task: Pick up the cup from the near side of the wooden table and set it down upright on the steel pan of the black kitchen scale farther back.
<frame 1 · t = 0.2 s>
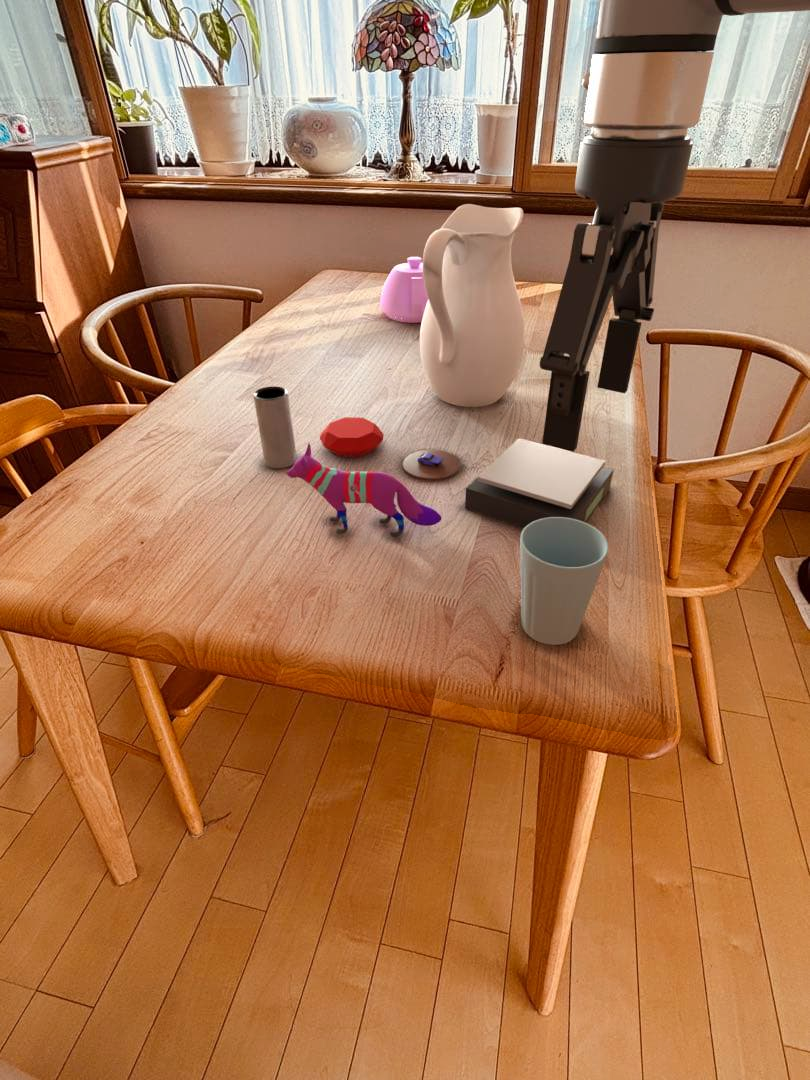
hand: (587, 415, 56), 19 cm above the table, tool pointing down, fingers open, 13 cm apart
round wooden coaster: (431, 467, 87), on the table
fox figurine: (366, 529, 75), on the table
cup: (549, 626, 62), on the table
pitcher: (459, 402, 104), on the table
gemstone: (352, 447, 92), on the table
teapot: (414, 314, 143), on the table
scale: (538, 498, 80), on the table
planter: (281, 462, 89), on the table
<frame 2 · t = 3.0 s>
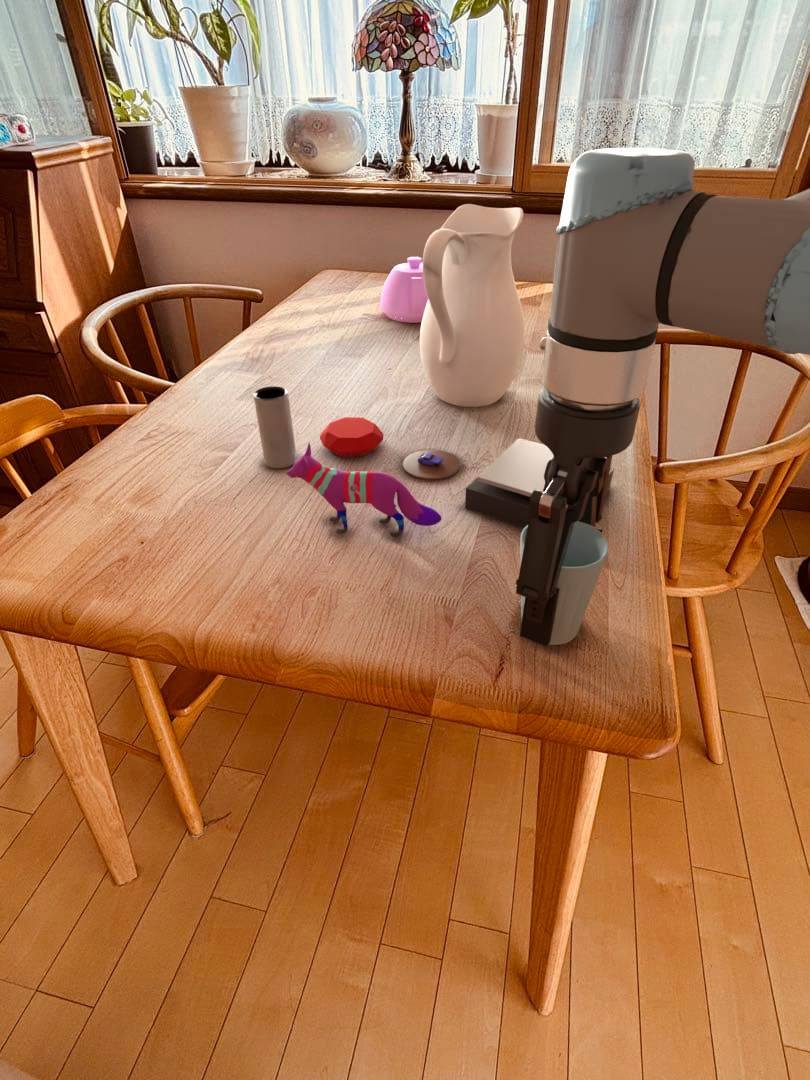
hand: (551, 613, 60), 2 cm above the table, tool pointing down, fingers closed on cup, 7 cm apart
cup: (549, 626, 62), on the table, touching gripper
everything else where it was.
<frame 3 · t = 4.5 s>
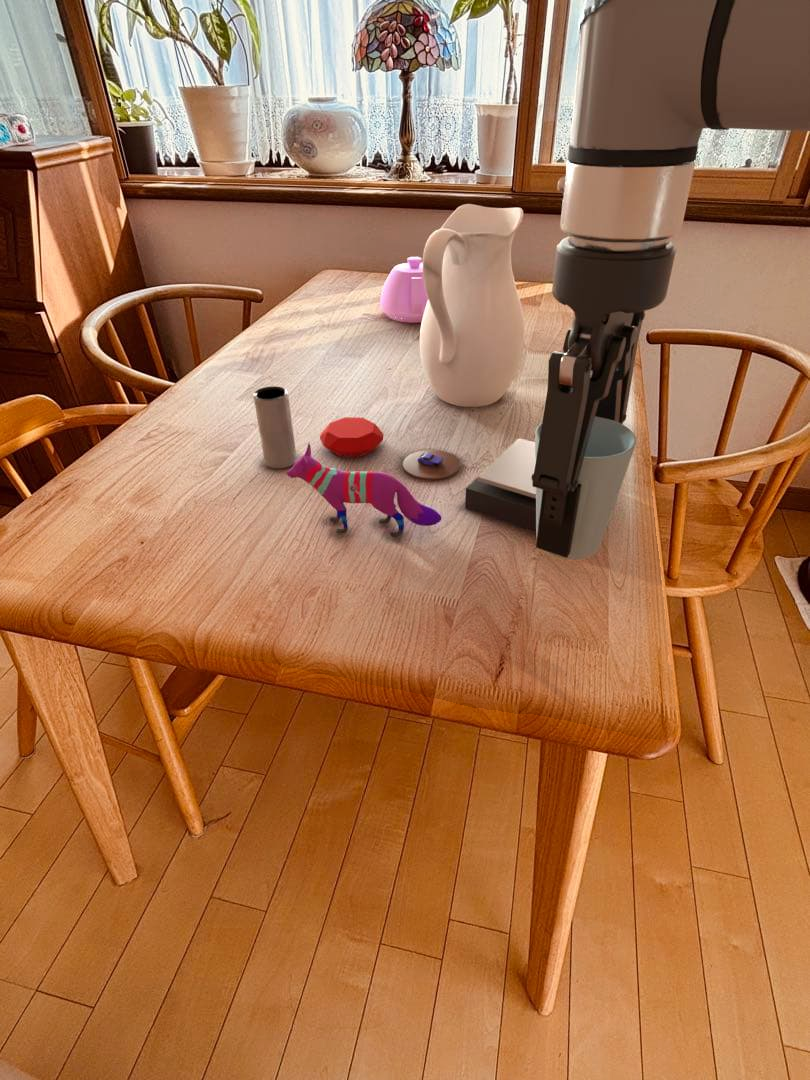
hand: (570, 526, 54), 12 cm above the table, tool pointing down, fingers closed on cup, 7 cm apart
cup: (567, 543, 55), point 10 cm above the table, touching gripper
everything else where it was.
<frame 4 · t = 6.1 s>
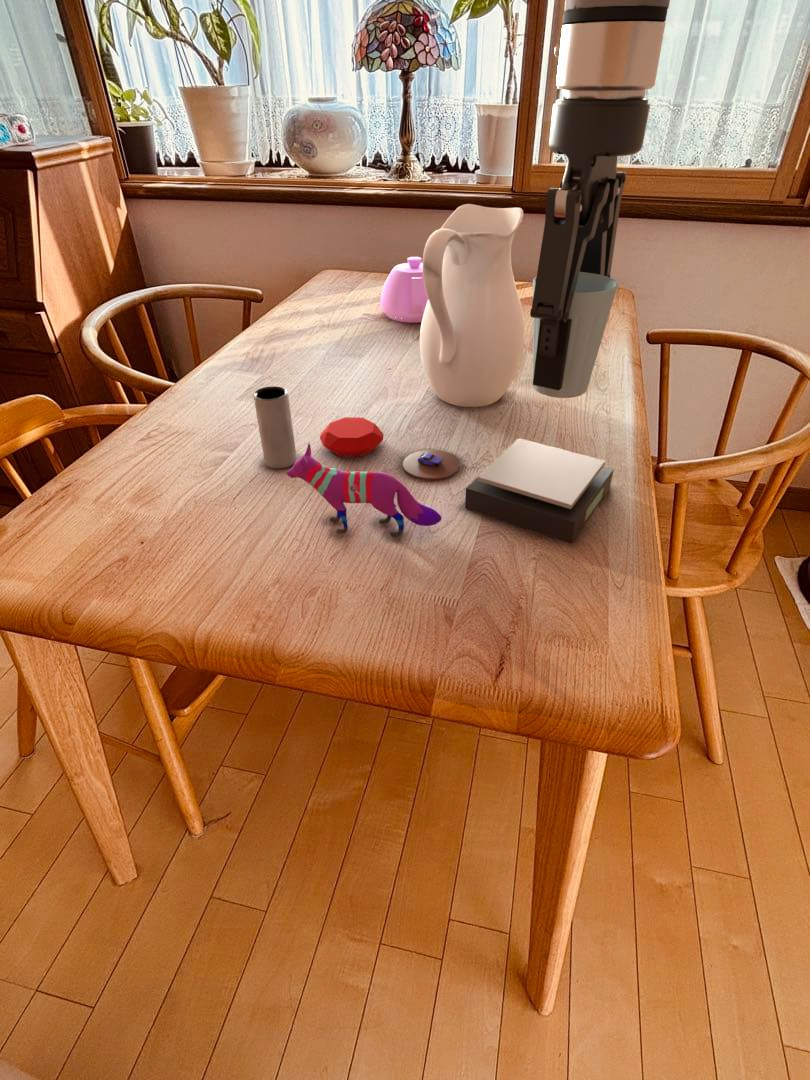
hand: (561, 372, 63), 19 cm above the table, tool pointing down, fingers closed on cup, 7 cm apart
cup: (559, 389, 64), point 18 cm above the table, touching gripper
everything else where it was.
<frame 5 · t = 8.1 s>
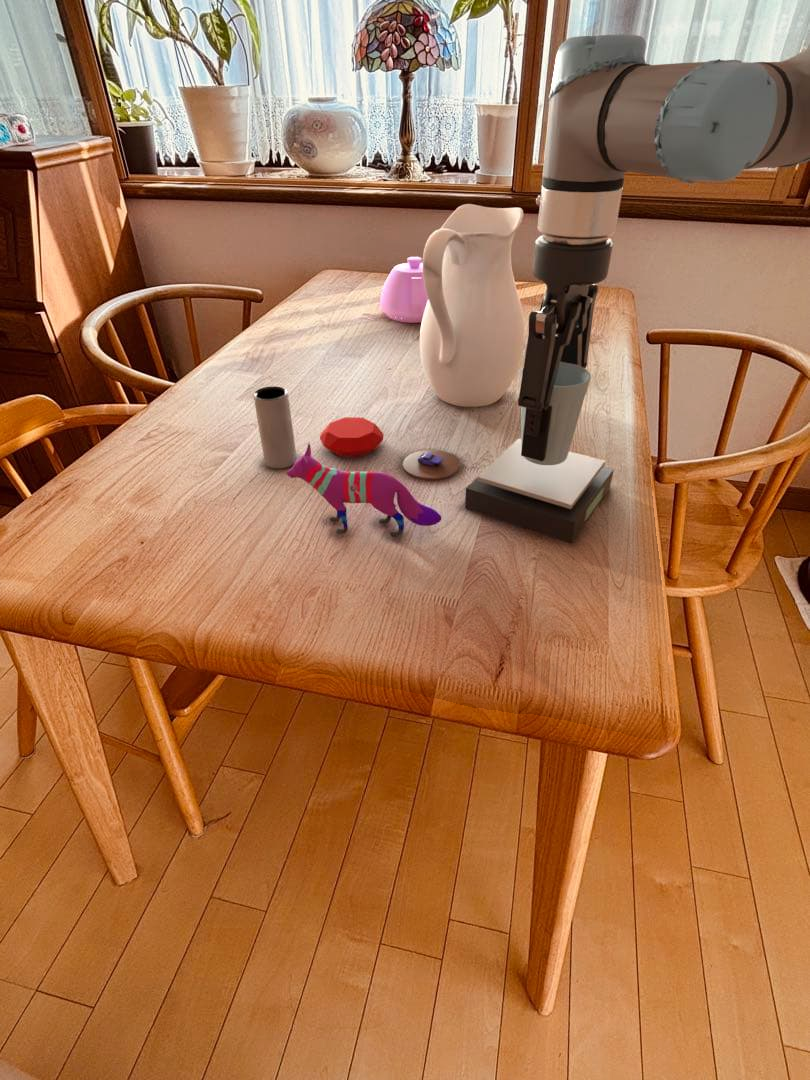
hand: (546, 443, 75), 8 cm above the table, tool pointing down, fingers closed on cup, 7 cm apart
cup: (544, 456, 76), point 6 cm above the table, touching gripper
everything else where it was.
when the fingers open (6 cm above the table, at t = 9.2 s): cup stays where it is, resting on scale.
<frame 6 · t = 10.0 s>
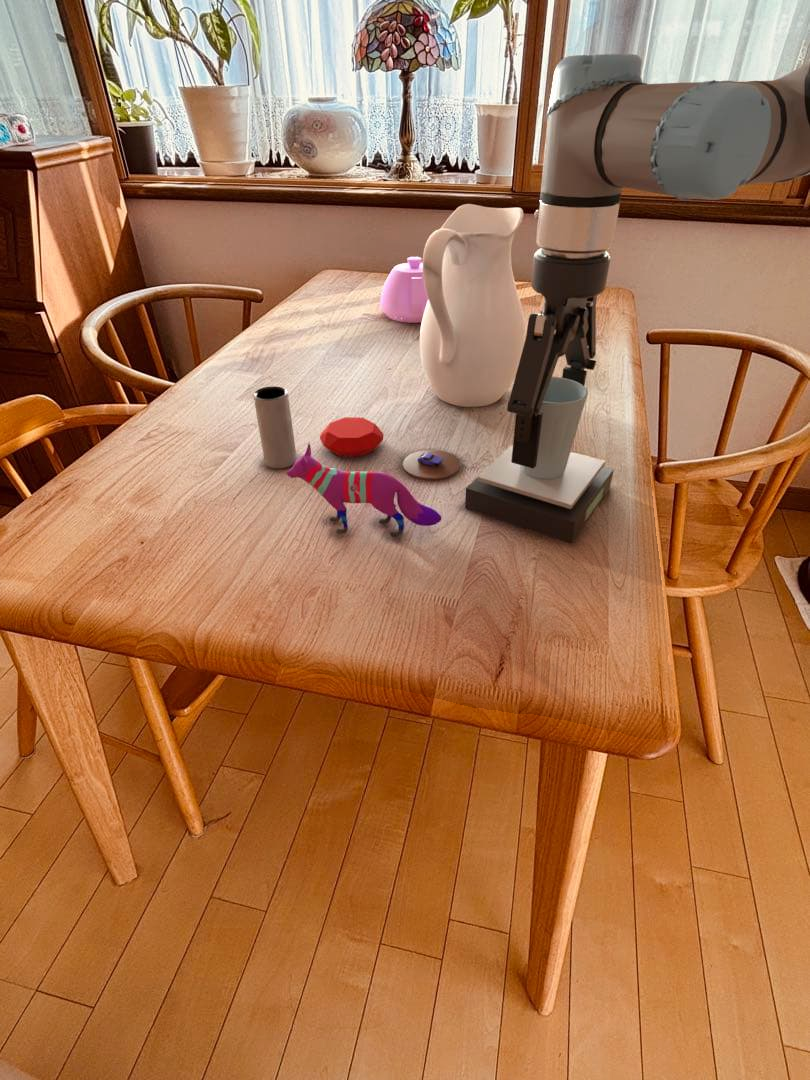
hand: (546, 440, 75), 8 cm above the table, tool pointing down, fingers open, 13 cm apart
cup: (542, 469, 77), point 4 cm above the table, touching scale
everything else where it was.
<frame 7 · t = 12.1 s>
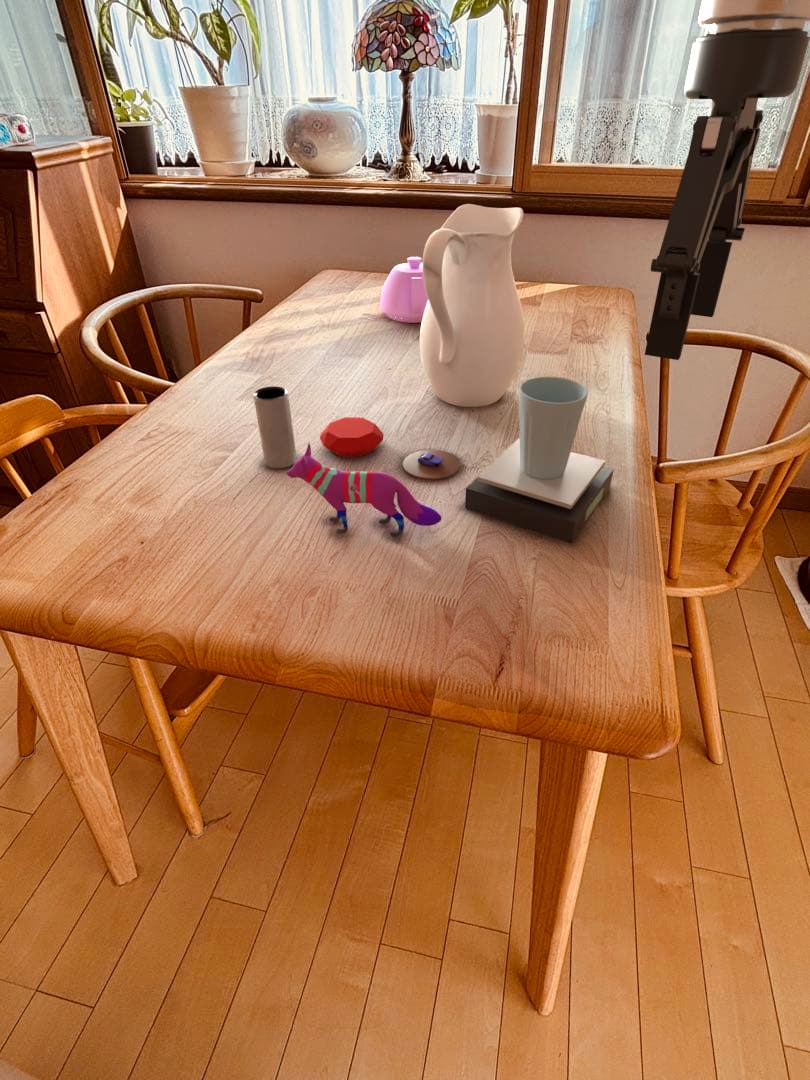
hand: (681, 334, 56), 25 cm above the table, tool pointing down, fingers open, 13 cm apart
nothing on the table moved.
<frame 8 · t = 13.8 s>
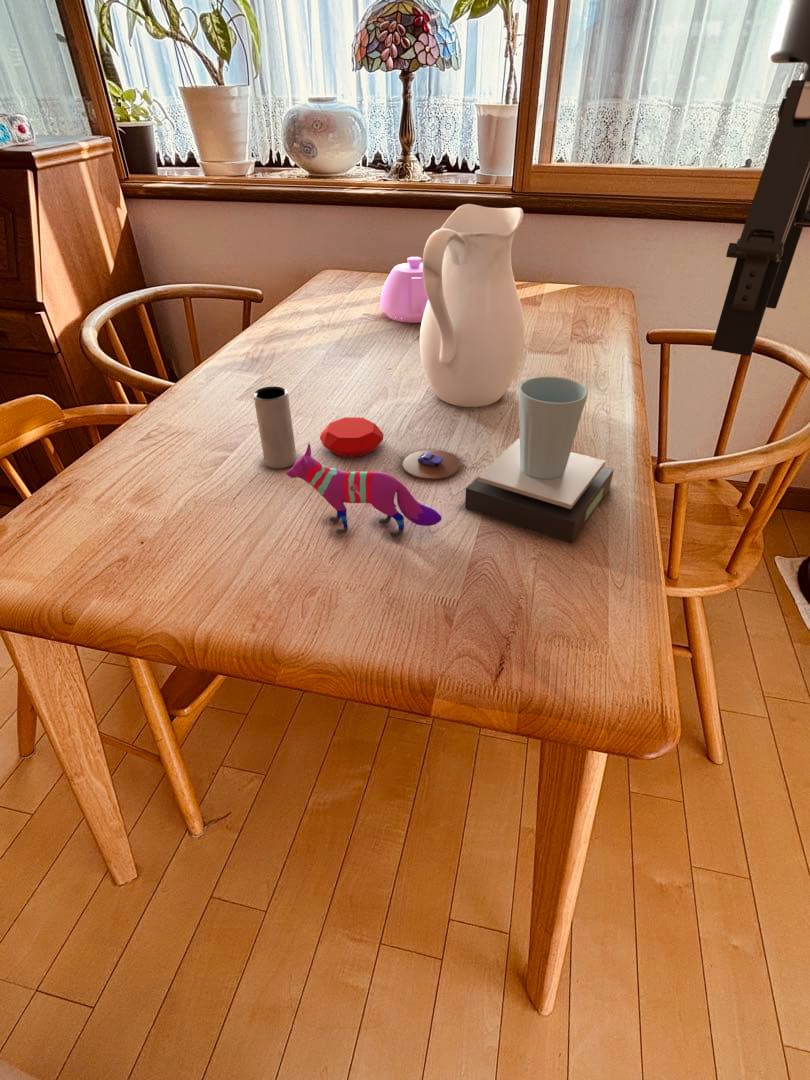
hand: (746, 326, 51), 27 cm above the table, tool pointing down, fingers open, 13 cm apart
nothing on the table moved.
at the end: cup inside the target area on the scale (0.0 cm from its centre), point 4.2 cm above the scale's base; cup tilted 0°; the gripper is holding nothing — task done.
